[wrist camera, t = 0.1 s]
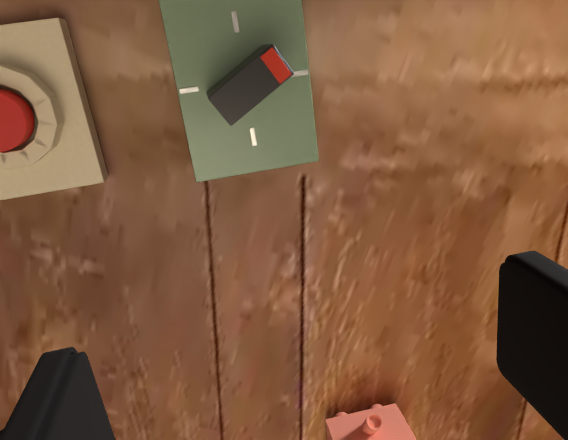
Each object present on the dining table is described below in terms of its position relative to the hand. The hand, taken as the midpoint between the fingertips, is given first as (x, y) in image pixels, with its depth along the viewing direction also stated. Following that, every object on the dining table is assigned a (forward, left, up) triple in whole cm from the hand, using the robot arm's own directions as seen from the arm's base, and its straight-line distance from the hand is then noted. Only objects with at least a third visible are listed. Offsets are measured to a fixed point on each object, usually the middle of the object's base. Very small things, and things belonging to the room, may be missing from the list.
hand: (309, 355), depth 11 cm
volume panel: (-4, +2, -31) cm, 32 cm away
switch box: (-4, -15, -31) cm, 35 cm away
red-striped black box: (-4, +2, -28) cm, 29 cm away
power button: (-4, -15, -28) cm, 32 cm away
